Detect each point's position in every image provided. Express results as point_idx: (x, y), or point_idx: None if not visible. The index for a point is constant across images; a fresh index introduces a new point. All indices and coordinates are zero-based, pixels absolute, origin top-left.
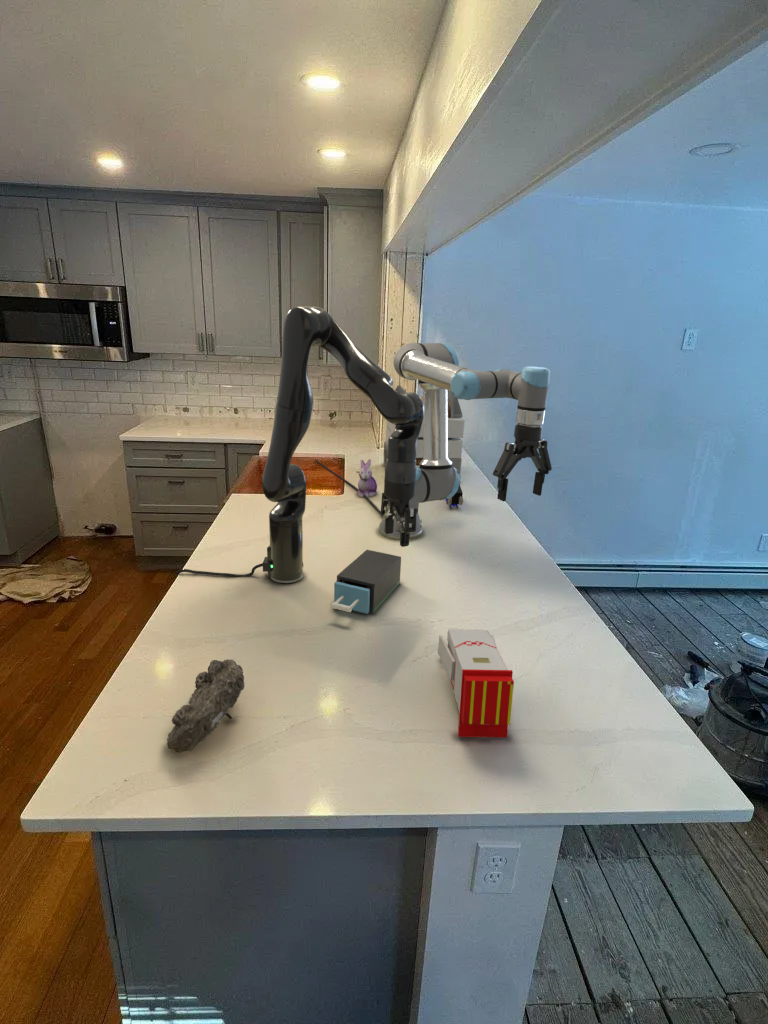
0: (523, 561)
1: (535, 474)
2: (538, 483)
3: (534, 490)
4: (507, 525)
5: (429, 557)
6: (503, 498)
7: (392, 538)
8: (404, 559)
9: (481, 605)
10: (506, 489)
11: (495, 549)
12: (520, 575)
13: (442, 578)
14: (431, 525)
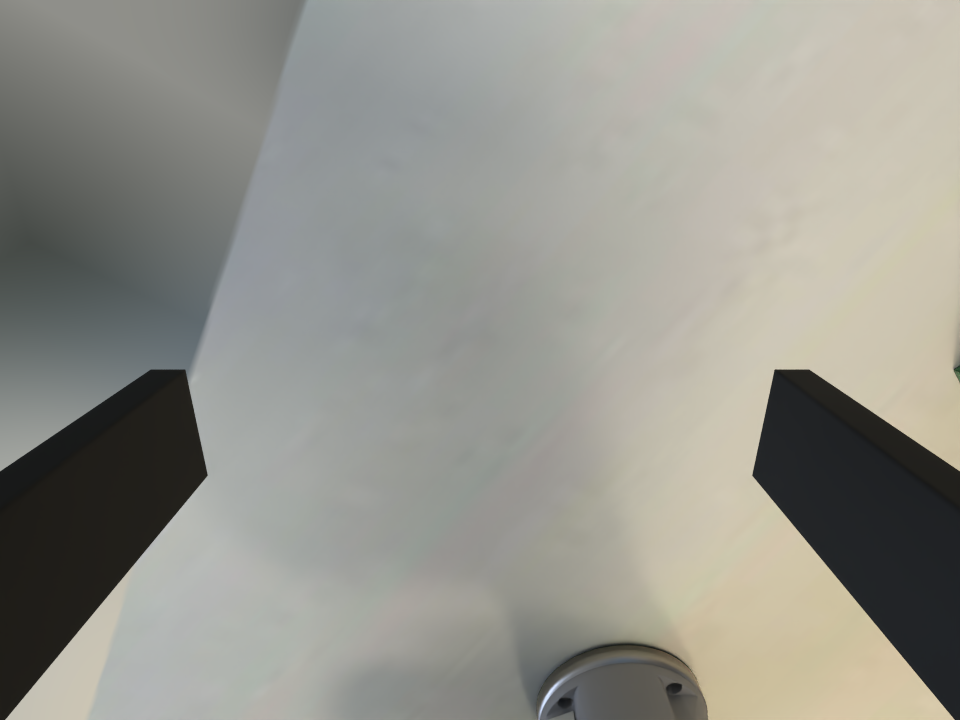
0: (323, 321)
1: (9, 706)
2: (89, 502)
3: (181, 476)
4: (159, 620)
5: (675, 505)
6: (831, 392)
7: (690, 671)
8: (774, 526)
9: (831, 38)
10: (901, 452)
11: (365, 463)
12: (437, 210)
13: (773, 335)
14: (466, 712)
